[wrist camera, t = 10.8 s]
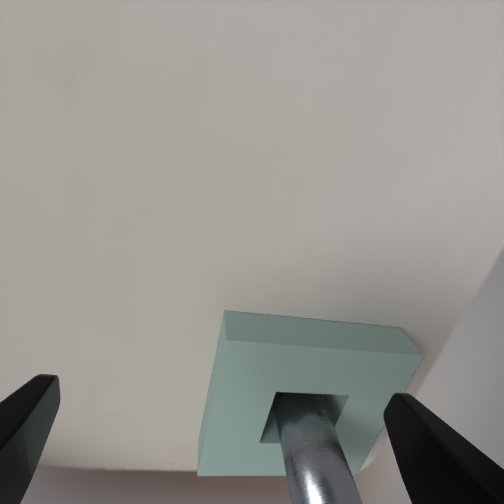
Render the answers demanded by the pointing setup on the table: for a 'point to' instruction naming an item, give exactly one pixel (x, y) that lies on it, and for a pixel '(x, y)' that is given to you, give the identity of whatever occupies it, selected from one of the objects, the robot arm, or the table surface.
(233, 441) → the socket block
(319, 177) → the table surface
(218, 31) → the table surface
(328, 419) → the peg
